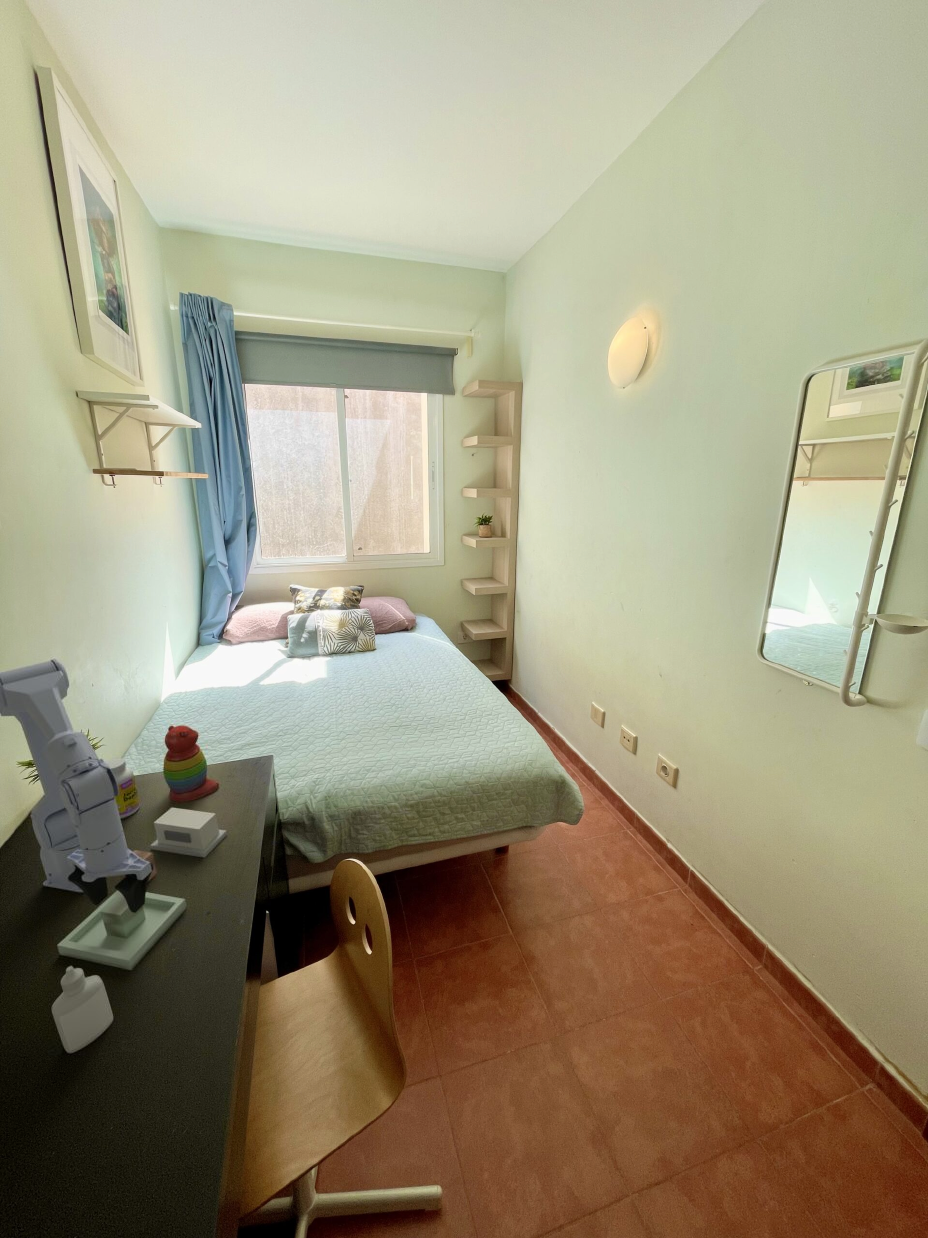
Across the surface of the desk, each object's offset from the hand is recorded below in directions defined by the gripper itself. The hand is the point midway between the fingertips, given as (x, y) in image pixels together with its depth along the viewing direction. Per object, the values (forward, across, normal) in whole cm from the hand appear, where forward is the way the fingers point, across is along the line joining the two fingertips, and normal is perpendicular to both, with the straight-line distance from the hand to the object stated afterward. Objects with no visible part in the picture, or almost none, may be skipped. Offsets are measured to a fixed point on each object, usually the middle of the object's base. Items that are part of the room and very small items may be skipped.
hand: (119, 904), depth 84 cm
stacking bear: (+6, -18, +37) cm, 42 cm away
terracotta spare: (+6, -7, +10) cm, 13 cm away
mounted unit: (+6, -5, +21) cm, 22 cm away
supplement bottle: (+6, -28, +27) cm, 39 cm away
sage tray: (+6, 0, 0) cm, 6 cm away
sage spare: (+5, 0, 0) cm, 5 cm away
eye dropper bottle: (+6, +9, -15) cm, 18 cm away
